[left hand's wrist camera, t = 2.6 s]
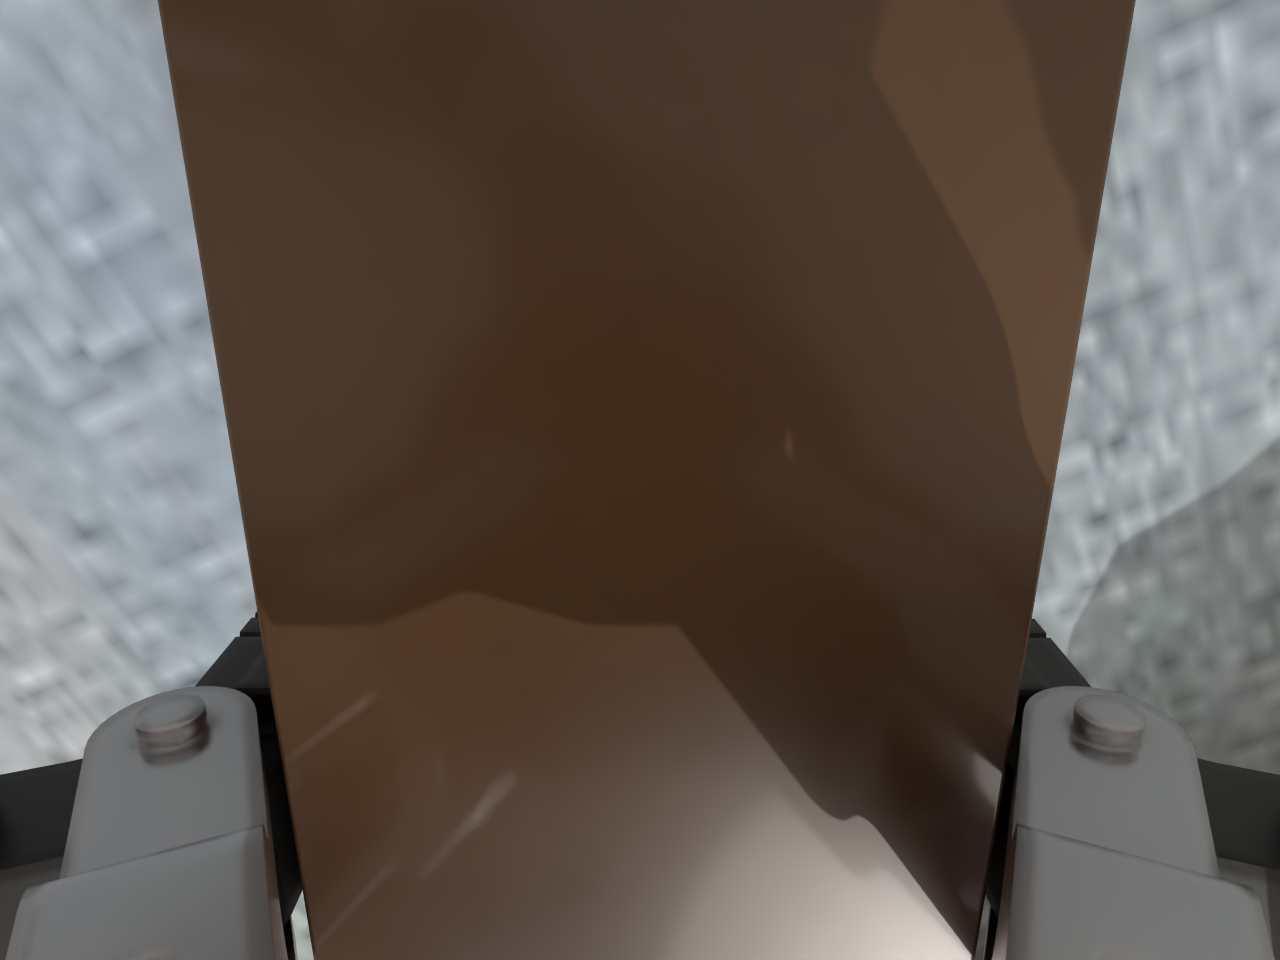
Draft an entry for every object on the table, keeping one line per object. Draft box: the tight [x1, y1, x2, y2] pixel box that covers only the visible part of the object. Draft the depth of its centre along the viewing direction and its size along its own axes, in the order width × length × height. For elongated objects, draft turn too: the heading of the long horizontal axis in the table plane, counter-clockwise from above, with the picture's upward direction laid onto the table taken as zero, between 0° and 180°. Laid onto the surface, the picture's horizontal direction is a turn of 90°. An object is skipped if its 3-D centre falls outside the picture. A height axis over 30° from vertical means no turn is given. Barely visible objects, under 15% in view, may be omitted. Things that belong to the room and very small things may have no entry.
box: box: [158, 0, 1135, 960], centre depth 11 cm, size 20×6×12 cm, turn 0°
